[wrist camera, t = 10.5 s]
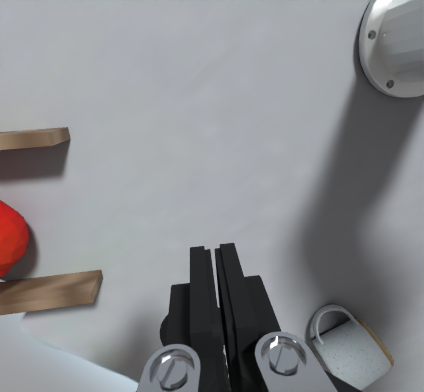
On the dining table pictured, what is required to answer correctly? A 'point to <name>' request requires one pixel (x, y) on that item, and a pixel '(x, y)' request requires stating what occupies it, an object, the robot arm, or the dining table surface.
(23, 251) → the tomato
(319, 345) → the ceramic mug
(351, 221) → the dining table surface
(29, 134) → the box
